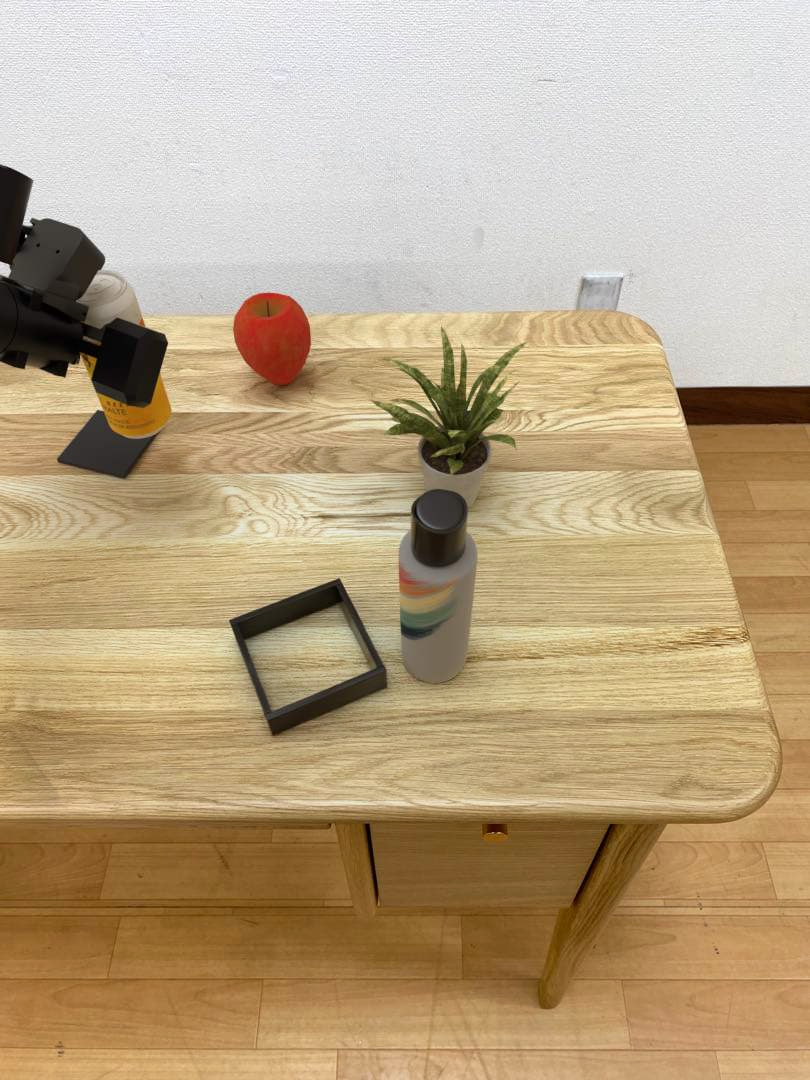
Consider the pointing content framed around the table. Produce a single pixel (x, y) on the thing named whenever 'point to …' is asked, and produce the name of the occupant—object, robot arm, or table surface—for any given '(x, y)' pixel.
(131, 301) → the beer can
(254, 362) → the apple
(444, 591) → the lotion bottle
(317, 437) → the table surface
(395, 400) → the house plant
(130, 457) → the mat
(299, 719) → the black square frame
